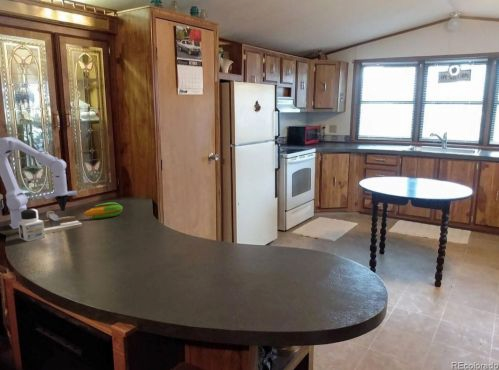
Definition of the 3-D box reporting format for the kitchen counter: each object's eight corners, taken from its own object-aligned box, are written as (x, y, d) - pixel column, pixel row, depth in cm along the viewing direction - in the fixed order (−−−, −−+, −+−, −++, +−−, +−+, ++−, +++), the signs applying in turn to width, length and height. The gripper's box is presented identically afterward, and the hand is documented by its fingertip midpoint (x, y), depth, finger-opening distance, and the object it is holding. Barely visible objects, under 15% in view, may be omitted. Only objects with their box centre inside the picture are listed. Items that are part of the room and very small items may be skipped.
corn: (124, 201, 209) (85, 207, 198) (125, 215, 210) (86, 221, 199) (119, 200, 215) (81, 205, 204) (121, 213, 216) (83, 219, 205)
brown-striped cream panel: (34, 225, 193) (33, 217, 193) (70, 219, 204) (69, 211, 204) (44, 234, 179) (43, 225, 178) (82, 226, 190) (81, 218, 189)
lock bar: (46, 216, 193) (45, 211, 193) (53, 215, 195) (52, 210, 195) (52, 221, 185) (52, 216, 184) (59, 219, 187) (59, 215, 186)
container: (27, 241, 169) (23, 213, 166) (19, 238, 173) (16, 210, 171) (45, 237, 175) (42, 209, 172) (37, 234, 179) (34, 206, 177)
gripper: (46, 187, 184) (49, 214, 187) (78, 183, 193) (80, 209, 196) (42, 185, 189) (45, 211, 192) (73, 181, 198) (76, 207, 201)
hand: (62, 210), depth 194 cm, fingers closed
